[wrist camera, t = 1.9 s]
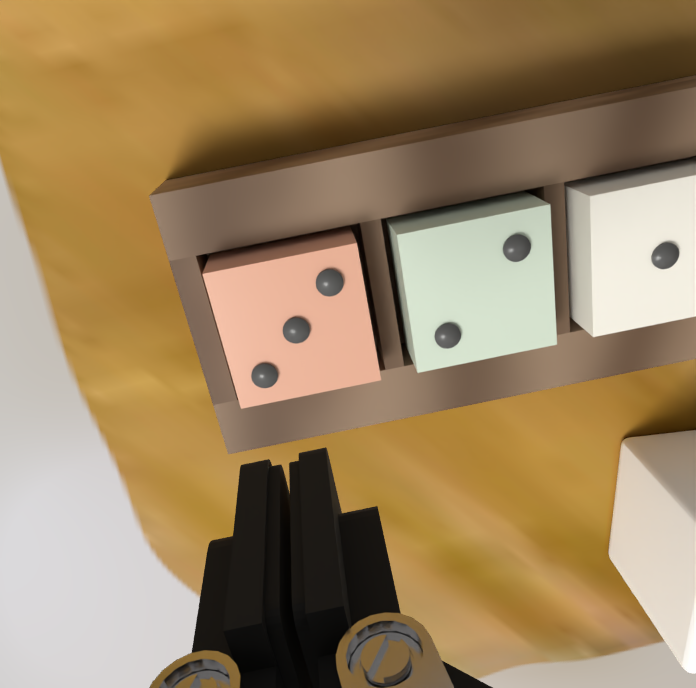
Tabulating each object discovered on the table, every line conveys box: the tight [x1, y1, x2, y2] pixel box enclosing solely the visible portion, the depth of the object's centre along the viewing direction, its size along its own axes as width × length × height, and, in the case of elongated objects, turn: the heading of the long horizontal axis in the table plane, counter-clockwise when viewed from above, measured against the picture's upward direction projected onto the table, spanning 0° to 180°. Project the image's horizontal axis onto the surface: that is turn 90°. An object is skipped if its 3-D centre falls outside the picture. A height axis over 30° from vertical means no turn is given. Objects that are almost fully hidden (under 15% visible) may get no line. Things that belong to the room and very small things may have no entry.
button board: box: [149, 75, 696, 454], centre depth 24 cm, size 20×10×3 cm, turn 100°
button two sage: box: [386, 191, 557, 373], centre depth 22 cm, size 5×5×2 cm
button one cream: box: [564, 157, 696, 337], centre depth 22 cm, size 5×5×2 cm
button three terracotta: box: [203, 226, 381, 409], centre depth 22 cm, size 5×5×2 cm
